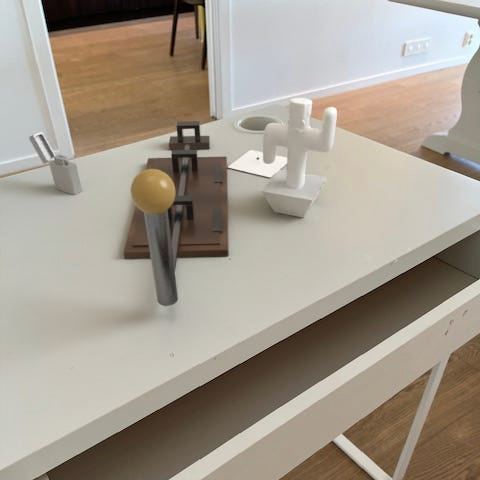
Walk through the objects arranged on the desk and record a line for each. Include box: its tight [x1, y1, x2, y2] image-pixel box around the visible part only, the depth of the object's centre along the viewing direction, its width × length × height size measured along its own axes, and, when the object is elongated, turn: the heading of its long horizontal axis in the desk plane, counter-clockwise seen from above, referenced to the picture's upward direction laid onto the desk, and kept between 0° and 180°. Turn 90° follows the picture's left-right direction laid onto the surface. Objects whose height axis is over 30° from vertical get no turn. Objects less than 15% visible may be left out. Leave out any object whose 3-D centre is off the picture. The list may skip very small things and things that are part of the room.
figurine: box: [261, 97, 338, 219], centre depth 68 cm, size 7×9×15 cm
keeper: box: [168, 120, 211, 151], centre depth 89 cm, size 3×7×4 cm, turn 91°
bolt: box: [130, 145, 190, 307], centre depth 64 cm, size 42×4×15 cm, turn 1°
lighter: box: [28, 131, 83, 196], centre depth 76 cm, size 7×2×8 cm, turn 59°
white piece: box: [227, 149, 287, 179], centre depth 84 cm, size 8×8×1 cm
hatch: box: [123, 149, 229, 259], centre depth 73 cm, size 28×13×4 cm, turn 1°
